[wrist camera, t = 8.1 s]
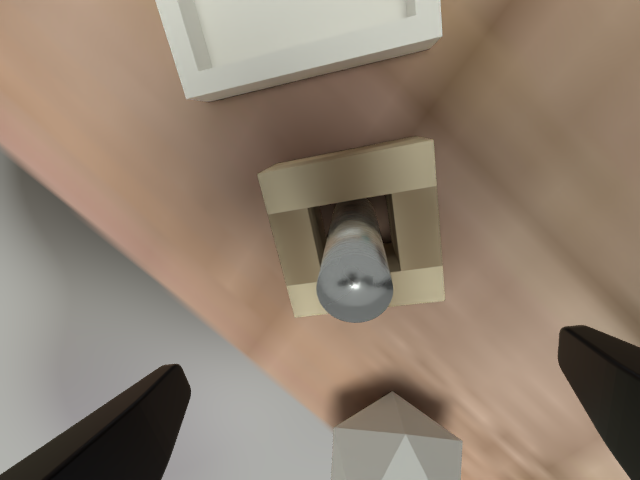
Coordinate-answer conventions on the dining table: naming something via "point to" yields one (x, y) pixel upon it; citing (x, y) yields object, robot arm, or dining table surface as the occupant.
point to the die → (394, 445)
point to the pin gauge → (354, 265)
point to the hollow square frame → (351, 184)
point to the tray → (288, 39)
